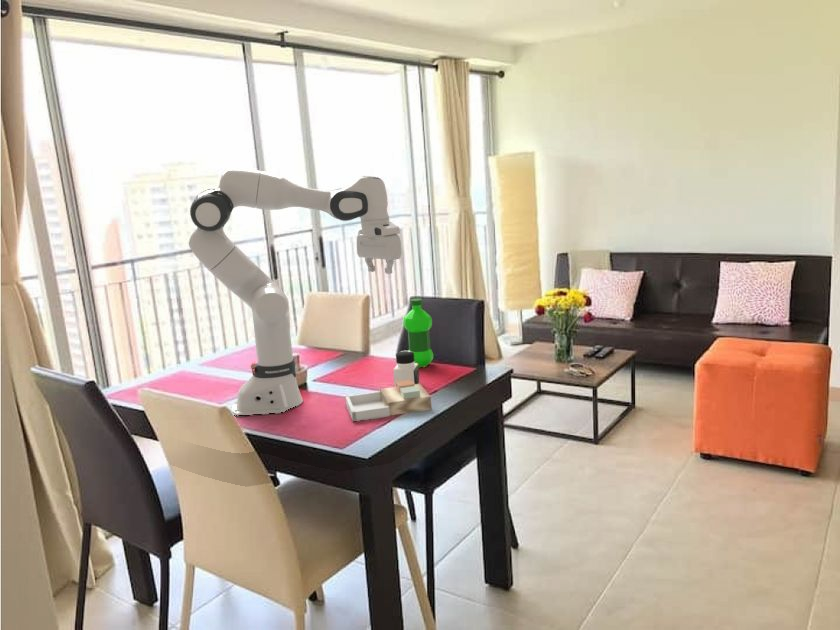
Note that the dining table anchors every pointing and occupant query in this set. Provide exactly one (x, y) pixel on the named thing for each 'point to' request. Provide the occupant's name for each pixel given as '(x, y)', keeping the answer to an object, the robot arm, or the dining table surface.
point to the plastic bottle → (419, 333)
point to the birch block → (405, 401)
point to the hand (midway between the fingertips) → (380, 272)
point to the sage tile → (410, 392)
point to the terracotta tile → (404, 384)
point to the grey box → (366, 406)
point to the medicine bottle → (406, 368)
